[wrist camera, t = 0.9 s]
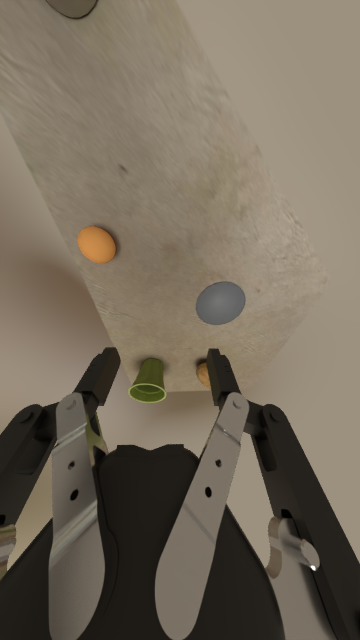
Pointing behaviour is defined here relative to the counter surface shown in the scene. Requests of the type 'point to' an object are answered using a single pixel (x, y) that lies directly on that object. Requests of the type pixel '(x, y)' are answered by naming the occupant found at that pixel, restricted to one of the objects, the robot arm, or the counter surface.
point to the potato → (203, 375)
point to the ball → (96, 244)
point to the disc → (220, 303)
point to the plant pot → (149, 383)
